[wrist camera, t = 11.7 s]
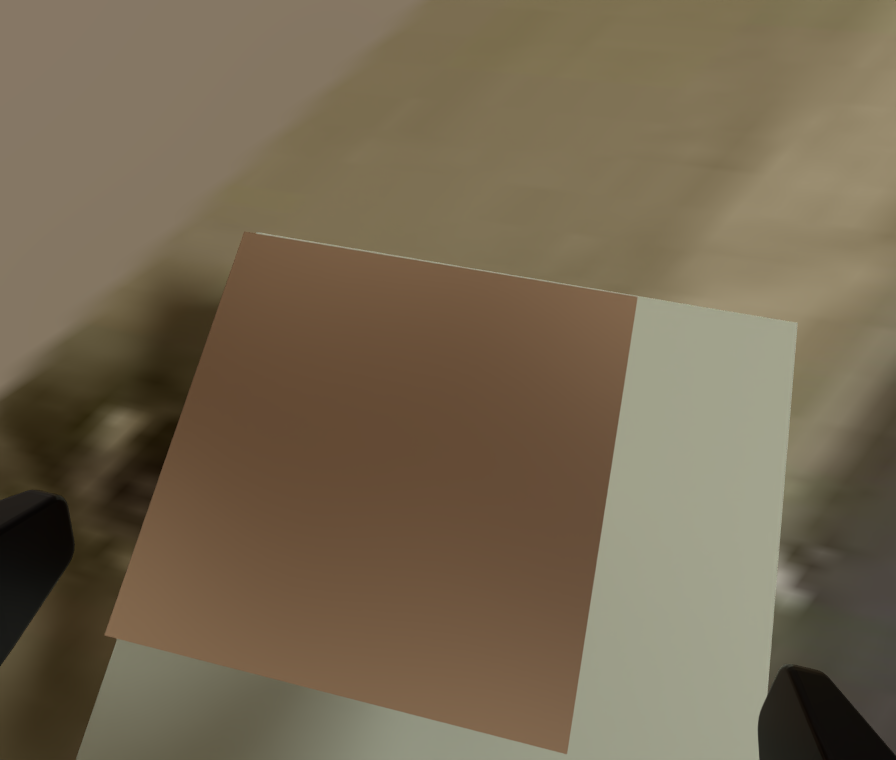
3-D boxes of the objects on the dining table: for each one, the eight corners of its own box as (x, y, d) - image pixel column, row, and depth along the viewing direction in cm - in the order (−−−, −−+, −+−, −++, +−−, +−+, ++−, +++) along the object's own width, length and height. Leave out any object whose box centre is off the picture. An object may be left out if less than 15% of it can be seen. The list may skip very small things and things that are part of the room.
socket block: (674, 900, 17) (741, 1011, 12) (171, 759, 19) (59, 808, 14) (730, 389, 21) (797, 322, 16) (308, 313, 22) (256, 232, 18)
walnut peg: (523, 659, 18) (566, 754, 6) (370, 622, 18) (104, 635, 6) (550, 503, 19) (637, 296, 7) (407, 473, 20) (243, 231, 7)
